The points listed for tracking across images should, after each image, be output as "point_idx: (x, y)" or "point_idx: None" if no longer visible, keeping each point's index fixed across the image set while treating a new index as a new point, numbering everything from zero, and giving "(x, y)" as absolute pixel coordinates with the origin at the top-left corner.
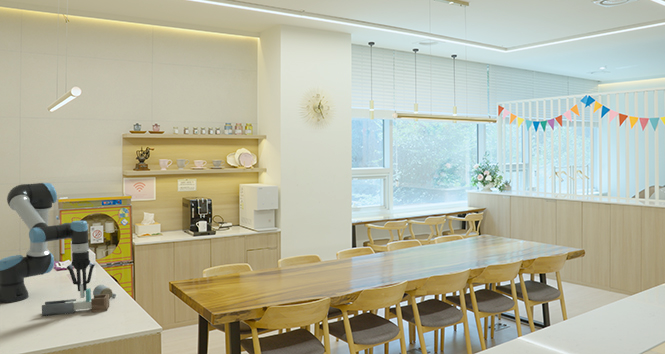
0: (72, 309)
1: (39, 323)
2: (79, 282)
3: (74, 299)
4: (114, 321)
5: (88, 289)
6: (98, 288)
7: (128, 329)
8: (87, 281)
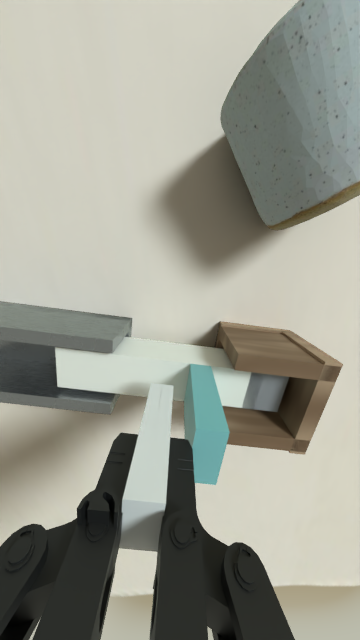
0: None
1: (21, 437)
2: (100, 616)
3: (104, 347)
4: (278, 511)
5: (210, 463)
6: (294, 117)
7: (303, 571)
8: (222, 635)
